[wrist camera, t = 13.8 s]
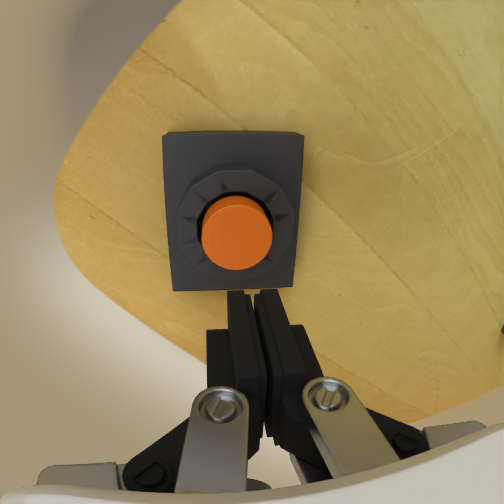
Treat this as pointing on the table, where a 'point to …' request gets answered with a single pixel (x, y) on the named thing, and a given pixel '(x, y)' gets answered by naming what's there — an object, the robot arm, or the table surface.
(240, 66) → the table surface
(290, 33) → the table surface
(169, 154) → the push button box
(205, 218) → the round orange button
